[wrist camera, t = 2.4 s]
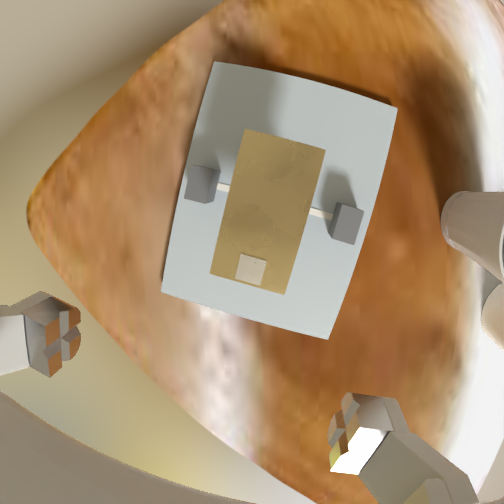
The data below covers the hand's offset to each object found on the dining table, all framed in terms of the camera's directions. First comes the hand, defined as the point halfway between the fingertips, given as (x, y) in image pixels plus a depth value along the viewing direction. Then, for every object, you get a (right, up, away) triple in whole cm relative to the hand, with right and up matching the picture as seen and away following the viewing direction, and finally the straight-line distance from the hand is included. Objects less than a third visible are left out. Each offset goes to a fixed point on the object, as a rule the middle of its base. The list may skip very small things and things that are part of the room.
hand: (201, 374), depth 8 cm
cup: (+24, +7, +20) cm, 32 cm away
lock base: (+4, +8, +22) cm, 23 cm away
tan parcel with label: (+3, +7, +15) cm, 16 cm away
